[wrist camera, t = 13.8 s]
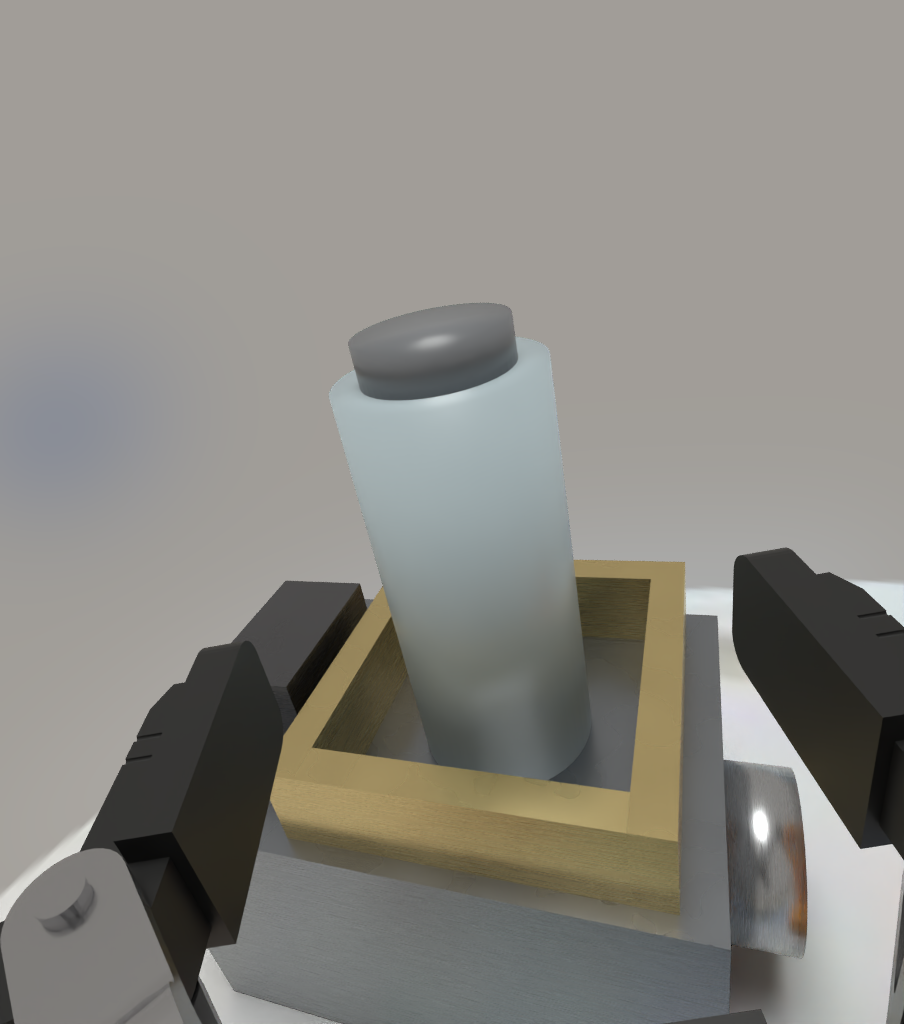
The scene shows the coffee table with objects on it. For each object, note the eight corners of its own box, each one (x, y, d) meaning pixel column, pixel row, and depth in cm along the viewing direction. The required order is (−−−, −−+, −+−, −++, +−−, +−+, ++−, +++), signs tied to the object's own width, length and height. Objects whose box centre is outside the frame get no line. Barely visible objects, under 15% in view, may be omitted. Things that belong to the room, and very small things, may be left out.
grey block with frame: (769, 800, 26) (788, 541, 20) (808, 1164, 17) (859, 878, 11) (362, 746, 32) (291, 536, 27) (233, 990, 23) (87, 751, 18)
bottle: (600, 668, 21) (562, 284, 15) (578, 802, 17) (516, 351, 11) (454, 657, 23) (371, 309, 17) (403, 777, 19) (273, 374, 13)
